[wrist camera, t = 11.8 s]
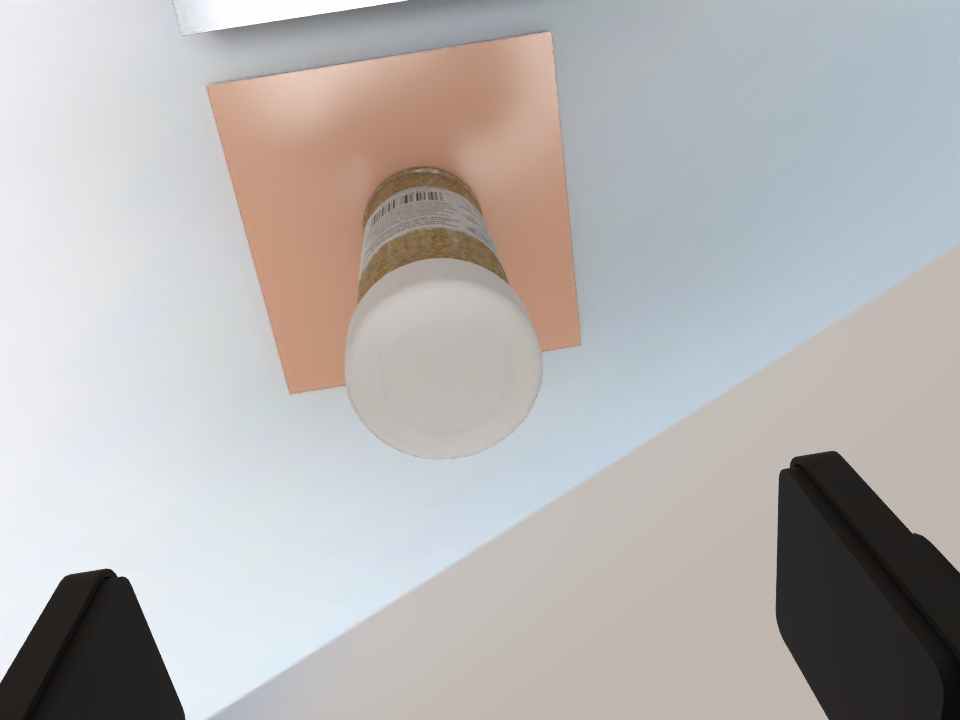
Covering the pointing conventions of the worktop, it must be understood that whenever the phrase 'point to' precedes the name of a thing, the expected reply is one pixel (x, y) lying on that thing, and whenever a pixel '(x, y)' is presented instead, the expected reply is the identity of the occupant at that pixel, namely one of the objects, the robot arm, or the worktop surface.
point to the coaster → (378, 155)
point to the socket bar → (254, 11)
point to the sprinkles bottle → (437, 323)
